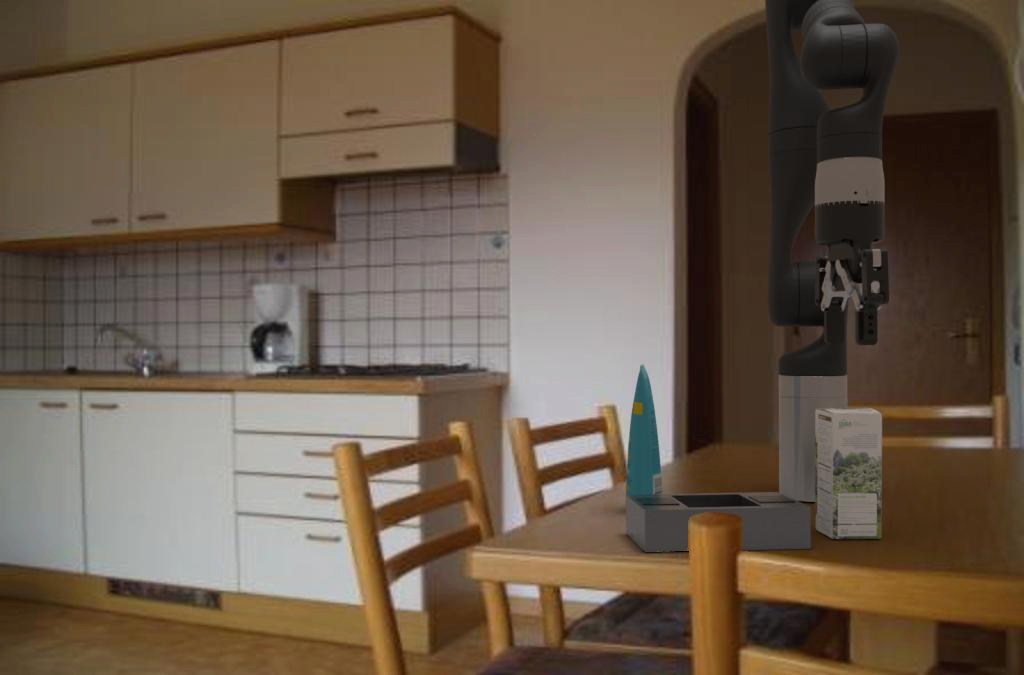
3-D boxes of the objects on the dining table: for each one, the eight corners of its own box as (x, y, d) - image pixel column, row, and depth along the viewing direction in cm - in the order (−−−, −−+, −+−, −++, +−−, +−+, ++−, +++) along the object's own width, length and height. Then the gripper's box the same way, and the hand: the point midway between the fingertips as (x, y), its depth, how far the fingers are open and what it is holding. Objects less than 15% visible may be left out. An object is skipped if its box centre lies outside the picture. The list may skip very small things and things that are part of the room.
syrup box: (862, 529, 114) (861, 406, 114) (883, 540, 108) (882, 410, 108) (814, 530, 114) (813, 406, 114) (832, 540, 108) (831, 410, 108)
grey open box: (626, 533, 113) (625, 494, 113) (777, 530, 114) (777, 491, 114) (645, 552, 103) (644, 509, 103) (810, 548, 104) (810, 505, 104)
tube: (624, 507, 130) (623, 363, 130) (661, 507, 130) (660, 363, 130) (626, 517, 123) (625, 365, 123) (665, 517, 123) (664, 365, 123)
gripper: (794, 209, 118) (794, 343, 118) (843, 193, 104) (844, 346, 104) (854, 209, 118) (854, 342, 119) (911, 193, 104) (912, 345, 104)
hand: (849, 344), depth 111 cm, fingers open, 8 cm apart
